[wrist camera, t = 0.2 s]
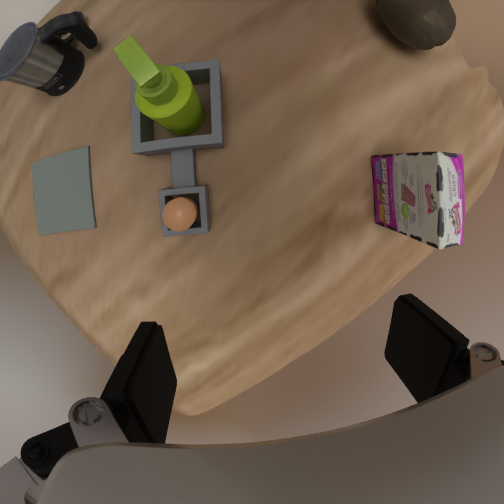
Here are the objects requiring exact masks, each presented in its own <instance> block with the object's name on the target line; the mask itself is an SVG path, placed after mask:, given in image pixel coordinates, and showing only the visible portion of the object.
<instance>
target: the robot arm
mask: <svg viewBox="0 0 504 504" xmlns="http://www.w3.org/2000/svg"><path fill="white" fill-rule="evenodd" d="M468 343H469V339H467V338H466V337H465V336H464V335H463V334H462V333H460V332H459V331H458V330H457V329H456V328H454V327H453V326H452V325H451V324H449V323H448V322H447V321H446V320H445V319H443V318H442V317H441V316H440V315H438V314H437V313H436V312H435V311H433V310H432V309H431V308H429V307H428V306H427V305H426V304H424V303H423V302H422V301H421V300H419V299H418V298H417V297H415V296H414V295H413V294H406V295H400V296H399V297H398V298H397V300H395V302H394V307H393V313H392V318H391V324H390V329H389V334H388V339H387V343H386V348H385V358H386V360H387V361H388V363H389V364H390V365H391V367H392V368H393V369H394V371H395V372H396V373H397V375H398V376H399V378H400V379H401V380H402V381H403V383H404V384H405V386H406V387H407V388H408V390H409V391H410V393H411V394H412V395H413V397H414V398H415V400H416V401H417V402H418V403H417V404H415V405H412V406H409V407H407V408H404V409H401V410H399V411H396V412H393V413H390V414H387V415H384V416H381V417H378V418H375V419H372V420H368V421H365V422H361V423H357V424H354V425H350V426H346V427H342V428H338V429H333V430H329V431H324V432H320V433H315V434H309V435H304V436H298V437H292V438H285V439H278V440H270V441H261V442H250V443H233V444H201V445H200V444H197V445H192V444H165V440H166V435H167V430H168V425H169V420H170V415H171V410H172V405H173V401H174V396H175V391H176V387H177V379H176V375H175V372H174V368H173V365H172V361H171V358H170V354H169V351H168V347H167V343H166V340H165V336H164V332H163V328H162V326H161V325H158V324H157V323H156V322H141V323H140V325H139V327H138V328H137V330H136V332H135V334H134V336H133V337H132V339H131V341H130V343H129V345H128V347H127V349H126V351H125V352H124V354H123V355H122V356H121V357H120V359H119V361H118V363H117V365H116V367H115V369H114V371H113V373H112V375H111V377H110V379H109V380H108V382H107V384H106V386H105V388H104V390H103V392H102V394H101V397H100V398H95V397H87V398H84V399H81V400H79V401H77V402H76V403H75V404H73V406H72V407H71V408H70V410H69V414H68V417H69V422H68V423H66V424H63V425H61V426H59V427H56V428H54V429H51V430H49V431H47V432H44V433H42V434H39V435H37V436H35V437H32V438H30V439H28V440H27V441H26V442H25V443H24V444H23V446H22V448H21V458H20V459H18V458H17V457H15V458H13V459H12V460H10V461H9V462H8V463H6V464H5V465H4V466H2V467H1V468H0V504H504V361H503V360H501V358H500V354H499V351H498V350H497V349H496V348H495V347H494V346H492V345H490V344H488V343H483V342H478V343H475V344H473V345H472V346H471V347H470V350H469V349H468V348H467V346H468Z"/></svg>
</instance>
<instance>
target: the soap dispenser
mask: <svg viewBox="0 0 504 504" xmlns="http://www.w3.org/2000/svg"><path fill="white" fill-rule="evenodd" d="M113 50H114V52H115V53H116V55H117V56H118V58H119V59H120V60H121V62H122V63H123V65H124V66H125V67H126V69H127V70H128V71H129V73H130V74H131V75H132V77H133V78H134V79H135V81H136V82H135V87H136V92H135V101H136V105H137V107H138V109H139V110H140V111H141V112H142V113H143V114H144V115H146V116H148V117H149V118H151V119H152V120H154V121H156V122H157V123H159V124H160V125H162V126H163V127H165V128H167V129H168V130H170V131H171V132H173V133H175V134H177V135H189V134H192V133H194V132H195V131H197V130H198V129H199V128H200V127H201V125H202V124H203V122H204V118H205V111H204V108H203V105H202V103H201V101H200V99H199V97H198V95H197V92H196V90H195V88H194V86H193V84H192V82H191V80H190V78H189V76H188V74H187V73H186V72H185V71H184V70H182V69H180V68H178V67H175V66H164V65H160V64H154V63H153V62H152V60H151V59H150V58H149V57H148V55H147V54H146V53H145V52H144V50H143V49H142V48H141V47H140V45H139V44H138V43H137V42H136V40H135V39H134V38H133V37H132V36H129V37H128V38H126V39H125V40H124V41H122V42H121V43H120V44H118V45H117V46H116V47H114V48H113Z"/></svg>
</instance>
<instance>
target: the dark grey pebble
mask: <svg viewBox="0 0 504 504" xmlns="http://www.w3.org/2000/svg"><path fill="white" fill-rule="evenodd" d="M376 4H377V7H378V12H379V14H380V16H381V18H382V20H383V22H384V24H385V25H386V27H387V28H388V30H389V31H390V32H391V33H392V34H393V35H394V36H395V37H396V38H397V39H398V40H400V41H401V42H403V43H404V44H406V45H408V46H410V47H413V48H416V49H422V50H429V49H432V48H433V47H435V46H441V45H443V44H444V43H446V41H448V40H449V38H450V37H451V36H452V33H453V31H454V29H455V25H456V16H455V13H454V11H453V8H452V6H451V4H450V2H449V0H376Z"/></svg>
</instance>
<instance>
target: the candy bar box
mask: <svg viewBox="0 0 504 504" xmlns="http://www.w3.org/2000/svg"><path fill="white" fill-rule="evenodd" d="M371 163H372V173H373V184H374V200H375V223H376V224H378V225H381V226H383V227H386V228H389V229H391V230H394V231H396V232H399V233H402V234H404V235H406V236H409V237H411V238H413V239H416V240H418V241H421V242H423V243H426V244H428V245H430V246H433V247H435V248H437V249H443V248H447V247H451V246H455V245H462V244H463V239H464V219H465V187H464V167H463V155H462V154H455V153H448V152H418V153H401V154H387V155H374V156H371Z"/></svg>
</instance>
